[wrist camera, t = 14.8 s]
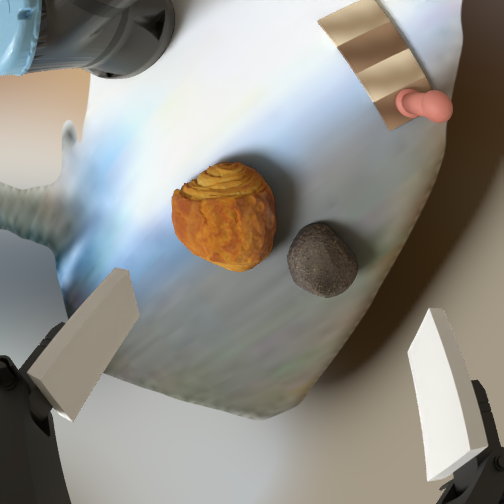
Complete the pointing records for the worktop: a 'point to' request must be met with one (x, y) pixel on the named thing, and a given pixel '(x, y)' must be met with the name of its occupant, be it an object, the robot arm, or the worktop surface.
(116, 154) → the worktop surface
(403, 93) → the pawn
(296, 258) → the stone
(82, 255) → the worktop surface
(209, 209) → the croissant
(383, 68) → the track
